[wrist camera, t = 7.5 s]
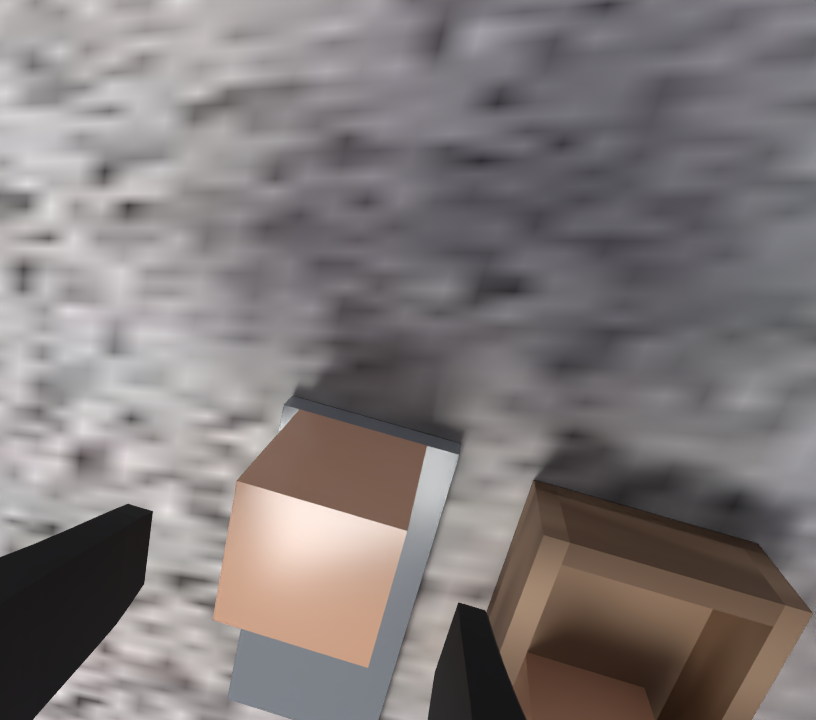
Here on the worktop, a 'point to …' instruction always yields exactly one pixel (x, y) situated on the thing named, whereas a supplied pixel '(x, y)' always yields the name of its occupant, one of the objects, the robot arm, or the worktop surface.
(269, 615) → the tan cube
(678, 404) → the worktop surface
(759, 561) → the walnut bin
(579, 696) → the peach cube
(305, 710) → the slate board
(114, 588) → the robot arm
